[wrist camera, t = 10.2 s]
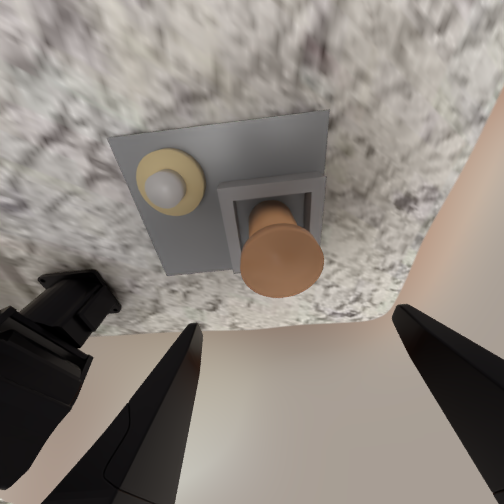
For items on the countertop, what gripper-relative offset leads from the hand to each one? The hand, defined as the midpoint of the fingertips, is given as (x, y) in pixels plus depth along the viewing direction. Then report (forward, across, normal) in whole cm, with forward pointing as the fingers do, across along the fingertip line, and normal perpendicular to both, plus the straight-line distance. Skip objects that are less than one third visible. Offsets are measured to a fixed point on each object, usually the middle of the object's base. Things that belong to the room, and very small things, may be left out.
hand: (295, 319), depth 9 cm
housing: (+12, +4, -1) cm, 12 cm away
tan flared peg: (+11, 0, 0) cm, 11 cm away
